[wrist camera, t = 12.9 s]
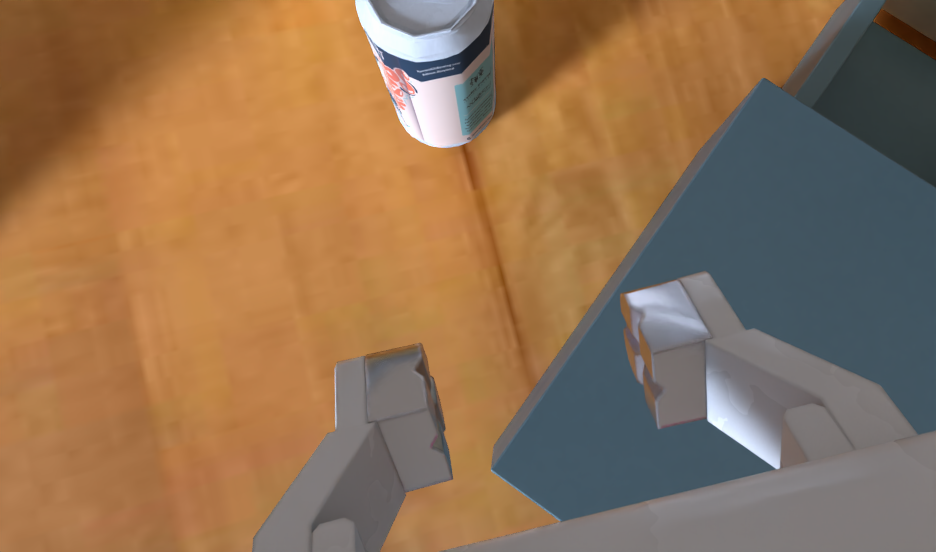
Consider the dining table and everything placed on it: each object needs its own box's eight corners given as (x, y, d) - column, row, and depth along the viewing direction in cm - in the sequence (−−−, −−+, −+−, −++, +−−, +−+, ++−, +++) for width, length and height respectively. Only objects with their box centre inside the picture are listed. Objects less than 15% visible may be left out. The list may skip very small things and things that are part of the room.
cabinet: (700, 148, 38) (763, 76, 29) (959, 319, 37) (1113, 299, 27) (493, 447, 37) (489, 470, 28) (753, 635, 35) (841, 726, 26)
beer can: (402, 49, 39) (360, -94, 27) (501, 58, 39) (501, -82, 27) (390, 145, 39) (341, 43, 27) (490, 156, 39) (485, 56, 27)
